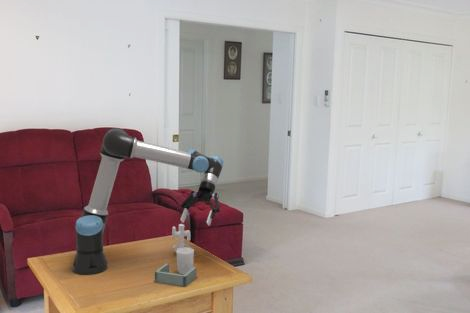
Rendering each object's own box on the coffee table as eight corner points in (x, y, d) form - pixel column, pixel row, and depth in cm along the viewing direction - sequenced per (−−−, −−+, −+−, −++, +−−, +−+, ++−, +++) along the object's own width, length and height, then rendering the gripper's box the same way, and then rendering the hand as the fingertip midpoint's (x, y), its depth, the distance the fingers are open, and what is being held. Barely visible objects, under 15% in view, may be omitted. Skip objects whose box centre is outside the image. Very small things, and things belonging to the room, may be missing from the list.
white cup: (191, 275, 211) (191, 254, 209) (174, 274, 212) (174, 252, 211) (196, 269, 218) (196, 248, 217) (179, 268, 220) (179, 247, 218)
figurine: (192, 254, 239) (193, 225, 237) (175, 257, 234) (175, 227, 232) (187, 250, 245) (187, 221, 243) (170, 252, 241) (170, 223, 239)
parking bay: (154, 281, 203) (154, 271, 203) (166, 272, 214) (166, 263, 213) (185, 286, 199) (185, 276, 198) (196, 277, 209) (196, 267, 209)
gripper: (234, 190, 230) (221, 229, 218) (188, 187, 239) (174, 224, 228) (229, 181, 224) (216, 221, 213) (182, 178, 234) (168, 216, 222)
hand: (194, 222), depth 220 cm, fingers open, 13 cm apart
